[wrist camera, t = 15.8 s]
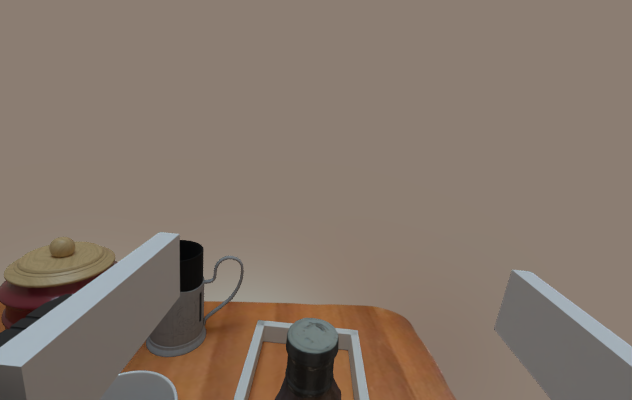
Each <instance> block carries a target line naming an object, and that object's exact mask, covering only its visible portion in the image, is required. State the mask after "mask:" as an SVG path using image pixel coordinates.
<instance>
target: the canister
mask: <svg viewBox="0 0 632 400" xmlns="http://www.w3.org/2000/svg"><path fill="white" fill-rule="evenodd" d="M116 263H118V262H116V261H115V254H114V252H113V251H111V250H110V249H108V248H105V247H102V246H99V245H97V244H94V243H89V242H74V241H73V240H72V239H70V238H67V237H60V238H57V239H54V240H53V241H52V242H51V244H50V245H48V246H44V247H41V248H38V249H35V250H33V251H31V252H29V253H27V254H25V255H24V256H23V257H22V258H20V259H18V260H17V261H15V262H13V263H12V264H11V265H9V266H8V267H7V268H6V270H5V272H4V278H5V279H6V281H5V282H4V283H3V284H2V285H1V286H0V302H1V303H2V304H4V305H5V306H6V308H5V310H4V311H3V314H2V323H3V325H4V326H5V330H6V329H10V326H12V325H13V324H15V323H16V322H17V321H19V320H20V319H22V318H24V319H25V317H26V315H28V314H29V313H31V312H32V311H34V310H35V309H37V308H38V307H40V306H41V305H43V304H44V303H46V302H49V301H51V300H53V299H56V298H58V297H60V296H63V295H65V294H75V293H76V292H77V291H79V290H80V289H82V288H83V287H84V286H86V285H87V284H89V283H90V282H91V281H93V280H94V279H95V278H97V277H98V276H100V275H101V274H102V273H104V272H105V271H107V270H108V269H109V268H111V267H112V266H113V265H115V264H116Z"/></svg>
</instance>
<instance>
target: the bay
mask: <svg viewBox="0 0 632 400" xmlns="http://www.w3.org/2000/svg"><path fill="white" fill-rule="evenodd" d="M291 325H292V324H291V323H281V322H272V321H262V320H258V322H257V326H256V329H255V332H254V335H253V338H252V342H251V345H250V348H249V351H248V355H247V358H246V361H245V364H244V368H243V371H242V374H241V377H240V381H239V384H238V387H237V390H236V394H235V397H234V400H248V398H249V394H250V390H251V386H252V382H253V378H254V374H255V370H256V367H257V363H258V359H259V355H260V351H261V347H262V343H263V341H265V342H274V343H284V344H286V340H287V332H288V330H289V328H290V326H291ZM335 329H336V331H337V333H338V337H339V344H338V349H343V350H348V351H349V360H350V368H351V377H352V386H353V394H354V400H369V396H368V390H367V384H366V378H365V372H364V366H363V360H362V354H361V348H360V342H359V336H358V331H357V330H349V329H339V328H335Z"/></svg>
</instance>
